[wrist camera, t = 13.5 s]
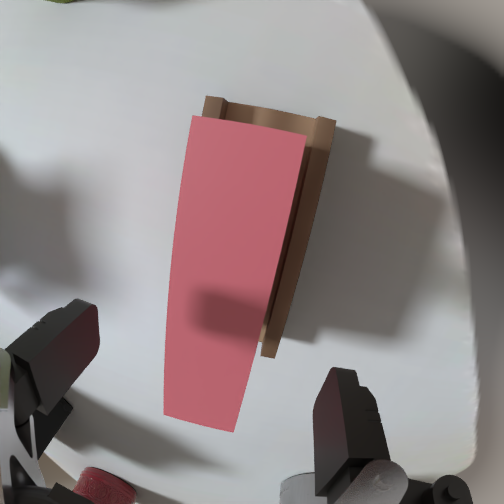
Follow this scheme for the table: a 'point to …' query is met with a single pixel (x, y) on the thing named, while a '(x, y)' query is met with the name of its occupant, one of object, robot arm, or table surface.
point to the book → (224, 263)
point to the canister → (104, 488)
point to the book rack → (302, 203)
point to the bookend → (49, 424)
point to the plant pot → (60, 1)
